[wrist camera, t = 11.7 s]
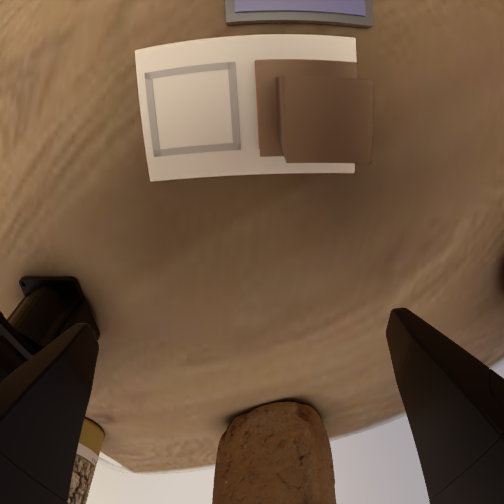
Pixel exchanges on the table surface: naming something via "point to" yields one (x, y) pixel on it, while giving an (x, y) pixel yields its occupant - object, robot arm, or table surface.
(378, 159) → the table surface
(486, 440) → the robot arm
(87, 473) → the bark patterned cylinder
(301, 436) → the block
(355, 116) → the stamp
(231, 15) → the inkpad
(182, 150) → the sheet
